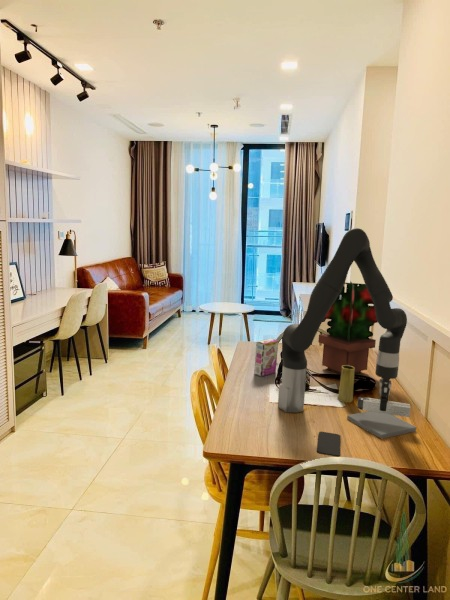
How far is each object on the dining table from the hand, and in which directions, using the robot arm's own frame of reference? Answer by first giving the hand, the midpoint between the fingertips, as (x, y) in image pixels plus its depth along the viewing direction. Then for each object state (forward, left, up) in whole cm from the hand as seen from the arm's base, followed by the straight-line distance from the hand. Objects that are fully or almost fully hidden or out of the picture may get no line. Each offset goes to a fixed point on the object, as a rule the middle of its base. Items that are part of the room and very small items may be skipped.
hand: (382, 408), depth 162 cm
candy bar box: (-11, +64, -7) cm, 65 cm away
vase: (+4, +24, -7) cm, 25 cm away
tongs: (0, 0, -1) cm, 1 cm away
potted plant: (+30, +55, -7) cm, 63 cm away
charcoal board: (0, 0, -6) cm, 6 cm away
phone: (-28, -5, -7) cm, 30 cm away
